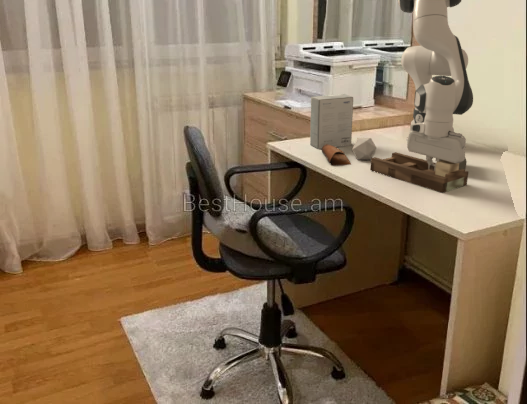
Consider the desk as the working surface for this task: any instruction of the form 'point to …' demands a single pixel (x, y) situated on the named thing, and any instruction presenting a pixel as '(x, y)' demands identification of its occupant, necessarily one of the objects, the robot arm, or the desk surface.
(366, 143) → the die
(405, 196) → the desk surface
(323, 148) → the sunglasses case
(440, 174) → the maple cube
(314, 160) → the desk surface
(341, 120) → the hard drive box
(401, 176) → the track
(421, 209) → the desk surface
